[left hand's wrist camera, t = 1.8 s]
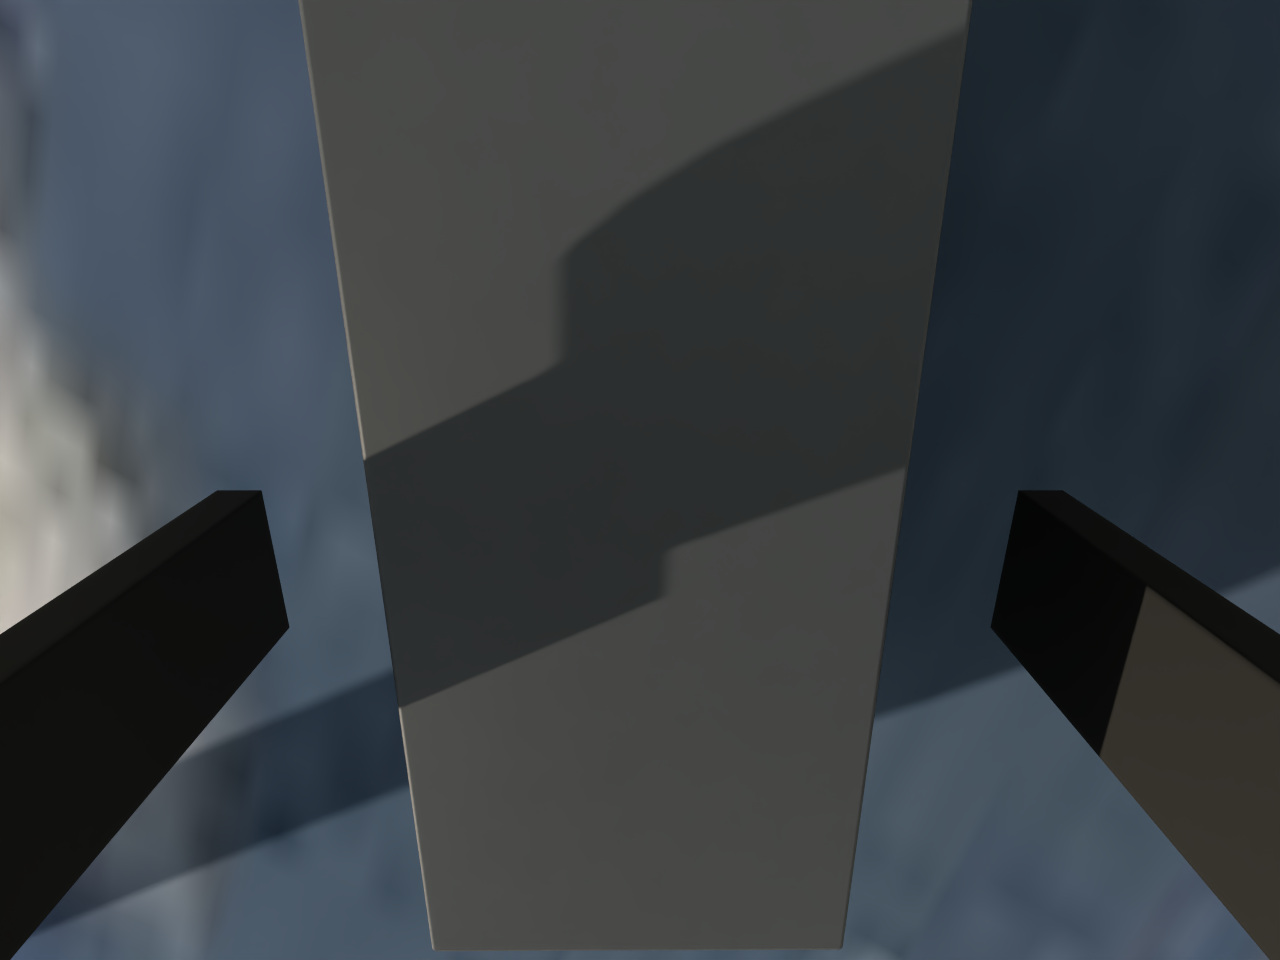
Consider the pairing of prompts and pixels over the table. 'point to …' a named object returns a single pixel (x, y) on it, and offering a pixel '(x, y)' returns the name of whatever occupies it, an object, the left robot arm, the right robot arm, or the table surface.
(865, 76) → the bar
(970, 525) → the table surface
